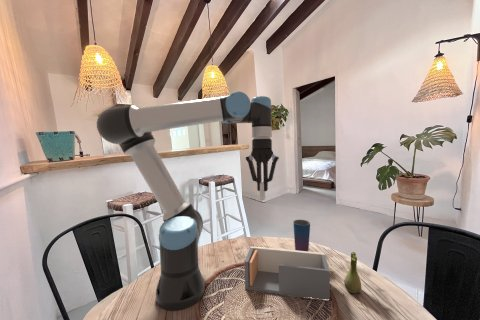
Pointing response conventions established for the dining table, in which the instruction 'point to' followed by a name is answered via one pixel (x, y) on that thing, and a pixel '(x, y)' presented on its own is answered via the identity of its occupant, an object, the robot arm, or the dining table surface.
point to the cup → (301, 234)
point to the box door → (253, 267)
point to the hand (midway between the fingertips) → (262, 199)
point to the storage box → (289, 273)
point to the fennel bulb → (353, 276)
